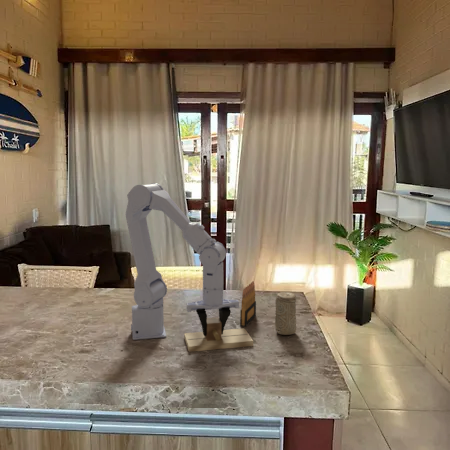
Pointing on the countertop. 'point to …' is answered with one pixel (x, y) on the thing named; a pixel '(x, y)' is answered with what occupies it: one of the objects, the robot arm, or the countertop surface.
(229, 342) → the board
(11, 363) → the countertop surface
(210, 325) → the mallet
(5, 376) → the countertop surface
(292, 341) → the countertop surface
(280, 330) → the carving
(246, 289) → the ammunition clip
